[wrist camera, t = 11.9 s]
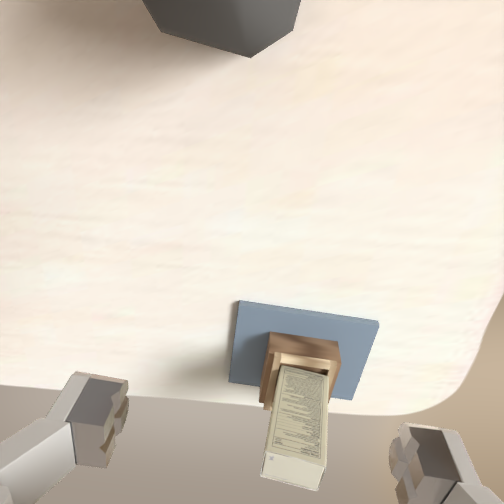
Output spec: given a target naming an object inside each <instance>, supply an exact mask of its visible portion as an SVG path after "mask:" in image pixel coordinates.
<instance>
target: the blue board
mask: <svg viewBox="0 0 504 504" xmlns="http://www.w3.org/2000/svg"><path fill="white" fill-rule="evenodd" d="M378 329H379V323H378V321H375V320H368V319H361V318H355V317H348V316H341V315H335V314H328V313H321V312H314V311H308V310H301V309H294V308H287V307H281V306H274V305H267V304H260V303H254V302H247V301H240V302H239V309H238V316H237V323H236V331H235V338H234V345H233V353H232V360H231V367H230V374H229V382H231V383H238V384H245V385H252V386H258V387H260V382H261V375H262V370H263V365H264V360H265V355H266V349H267V344H268V339H269V334H270V331H271V332H278V333H285V334H291V335H298V336H305V337H312V338H318V339H325V340H332V341H338V345H339V351H340V357H341V363H342V364H341V367H340V370H339V373H338V376H337V379H336V382H335V385H334V388H333V391H332V394H331V397H332V398H339V399H345V400H352V399H353V396H354V393H355V390H356V388H357V385H358V382H359V380H360V377H361V374H362V372H363V369H364V366H365V364H366V361H367V358H368V355H369V353H370V350H371V347H372V345H373V342H374V339H375V337H376V334H377V331H378Z"/></svg>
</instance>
